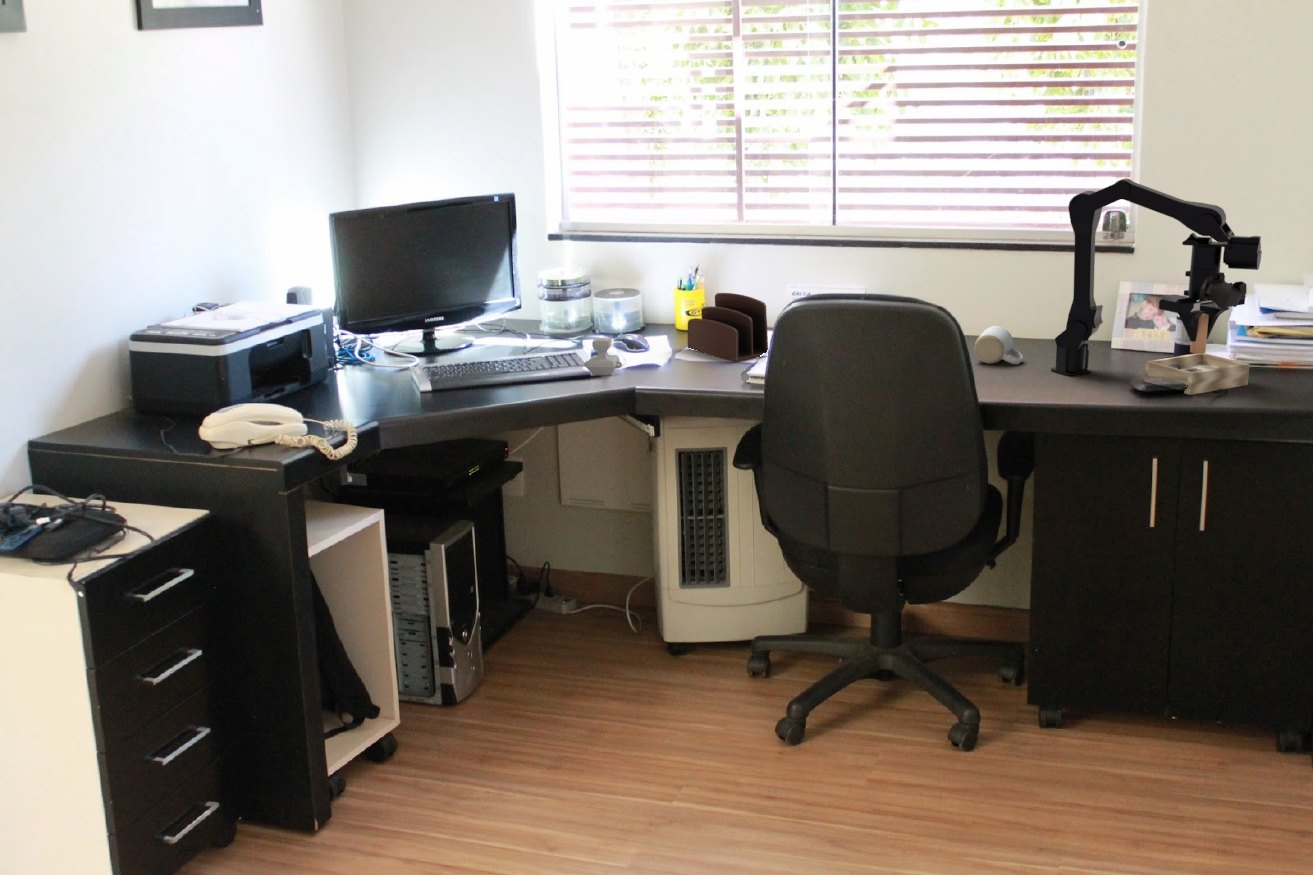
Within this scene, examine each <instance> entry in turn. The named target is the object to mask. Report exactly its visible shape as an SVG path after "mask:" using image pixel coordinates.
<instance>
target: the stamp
mask: <svg viewBox="0 0 1313 875" xmlns="http://www.w3.org/2000/svg"><path fill="white" fill-rule="evenodd" d="M612 338H613V337H595V338H594V339H593V340H592V345H591V346H592V349H593V350H594V351H597V354H594V355H592V356H591V358H590V359H588V360H587V361H585V362H584V363H583V364H584V365H583V366H584V367H585V368H586V369H587V370H588V371H589V372H590V373H591V374H592V375H593V376H611V375H612V374H613V373H614V371H615V370H616V369H620V368H622V367H623V363H622V362H621V361H620V357H619V356H618V355H616V354H615V355H614V354H608V350H609V349H610V348H611V346H612V343H613V342H612V340H613V339H612Z"/></svg>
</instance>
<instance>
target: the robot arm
mask: <svg viewBox="0 0 1313 875" xmlns="http://www.w3.org/2000/svg"><path fill="white" fill-rule="evenodd" d="M1120 200H1124V201H1127V202H1129V203H1132V204H1134V205H1138V206H1140V207H1143V208H1146V209H1148V210H1151V211H1152V212H1153V211H1154V212H1157V213H1159V214H1161V215H1164V216H1167V217H1170V218H1173V219H1174V220H1176V221H1178V222H1179V223H1181V224H1182V225H1184V226H1185V227H1186V228H1188V229H1189V230H1191V231H1192V232H1191V233H1190V234H1189V236H1188V237H1187V238H1185V240H1183V241H1182V242H1181V244H1182V245H1183V246H1190V247H1191V258H1190V270H1185V277H1189V281H1188V289H1187V290H1183V295H1179V294H1170V295H1169V294H1168V295H1163V296H1161V297H1160V298H1159V303H1158V310H1162V311H1167V312H1171V313H1175V314H1177V315H1179V316H1180V318H1181V320H1182V322H1183V325H1184V327H1185V329H1186V332H1187V334H1188V337H1189V339H1190V341H1192V342H1195V341H1196V336H1197V330H1198V323H1199V318H1200V317H1201V315H1202V314H1208V315H1209V318H1208V329H1207V340H1208V339H1209V337H1210V334H1211V332H1212V331H1213V328H1214V326H1215V324H1216V322H1217V320H1218V318H1219V316H1220V315H1222V314H1223V313H1224V312H1226V311H1229V310H1230V308H1231V307H1233V308H1236V307H1238V306H1243V305H1245V303H1246V302H1245V301H1246V295H1247V283H1245V282H1244V281H1241V280H1240V281H1235V282H1234V283H1232V282H1227V281H1226V275H1225V272H1222V271H1220V270H1221V260H1222V262H1223V264H1225V266H1227V268H1228V269H1232V270H1233V269H1234V270H1235V269H1236V270H1239V269H1240V270H1252V271H1259V269H1260V266H1261V260H1262V253H1263V251H1262V249H1261V248H1262V244H1261V243H1262V242H1261V241H1262V240H1261V239H1262V237H1261V235H1252V236H1242V235H1235V233H1234V231H1233V230H1232V228H1231V227H1230V225H1229V224H1228V223H1227V215H1226V212H1225V210H1224V208H1222V207H1220V206H1219V205H1217V204H1210V203H1205V202H1199V201H1189V200H1184V199H1182V198H1178V197H1177V196H1173V195H1170V194H1168V193H1165V192H1162V191H1159V190H1156V189H1155V188H1152V187H1148V186H1145V185H1143V184H1140V183H1138V182H1135V181H1133V180H1132V179H1130V178H1122V179H1119V180H1117V181H1115V182H1114V184H1111V185H1108V186H1106V187H1104V188H1102V189H1100V190H1097V191H1093V190H1085V191H1083V192H1080V193H1078V194H1076V195H1074V196H1073V197H1072V198H1071V200H1069V203H1068V206H1067V207H1068V214H1069V221H1070V224H1071V227H1072V231H1073V235H1074V250H1073V251H1074V253H1073V254H1074V256H1073V257H1074V258H1073V264H1074V265H1073V294H1072V295H1073V296H1072V297H1073V299H1072V302H1071V306H1070V309H1069V311H1068V316H1067V322H1066V325H1065V329H1064V330H1063V331H1062V332H1061V333H1060V334H1059V335H1057V336H1055V338H1054V341H1055V344H1056V345H1055V346H1056V355H1055V356H1056V357H1055V367H1050V371H1051V372H1052V371H1053V372H1055V373H1060V374H1063V375H1066V376H1076V375H1083V374H1089V373H1092V372H1093V371H1092V369H1090V368H1089V361H1090V360H1089V359H1090V357H1089V356H1090V350H1089V344H1088V343H1087V342H1089V339H1090V337H1092V336H1093V335H1095V333H1098V332H1097V331H1098V330H1099V328H1100V326H1101V325H1102V324H1103V323H1104V320H1102V313H1103V308H1104V306H1103V305H1102V304H1100V305H1097V304H1096V301H1095V296H1094V295H1095V293H1094V292H1095V260H1096V258H1095V257H1096V256H1095V255H1096V253H1095V252H1096V234H1097V233H1096V232H1097V229H1098V226H1099V223H1100V220H1101V217H1102V213H1103V212H1102V210H1103V208H1104V207H1107V206H1108V205H1110V204H1113V203H1115V202H1118V201H1120ZM1195 233H1196V234H1198V235H1200V236H1198V235H1196V234H1195ZM1213 240H1215V241H1213ZM1222 250H1223V256H1222ZM1222 257H1223V258H1222Z"/></svg>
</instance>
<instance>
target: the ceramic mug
mask: <svg viewBox="0 0 1313 875" xmlns="http://www.w3.org/2000/svg"><path fill="white" fill-rule="evenodd" d="M973 350H974V355H975V356H976V358H977V359H978V360H979V361H980V362H982V363H983V364H987V365H988V364H989V365H992V364H996V363H999V362H1000V361H1002V360H1003V361H1004V362H1006V363H1010V364H1012V365H1020V364H1021V362H1022V361H1023V357H1024V356H1023V354H1022V353H1021V352H1020V351H1018V349H1016V348H1014V338H1013V337H1012V334H1011V332H1010V331H1008V329H1006V328H1004V327H1002V326H997V325H992V326H989V327H988V328H986V329H985V330H984V331H982V333H981V334H980V335H979V336H978V337H977V339H976V341H975V343H974V346H973ZM1019 363H1020V364H1019Z"/></svg>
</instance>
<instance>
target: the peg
mask: <svg viewBox="0 0 1313 875" xmlns="http://www.w3.org/2000/svg"><path fill="white" fill-rule="evenodd" d="M1208 318H1209V315H1208V314H1202V315H1201V317H1200V318H1199V323H1198V330H1197V336H1196V341H1195V342H1192V341H1191V348H1190V352H1191V353H1196V354H1203V353H1206V349H1207V340H1208V339H1207V329H1208Z"/></svg>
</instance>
